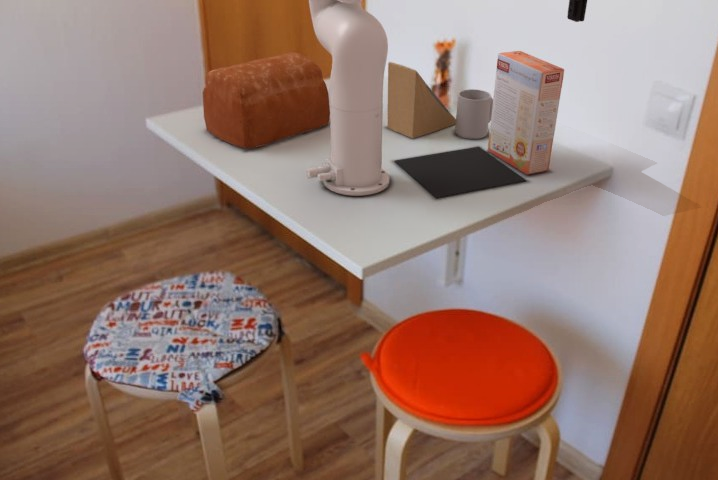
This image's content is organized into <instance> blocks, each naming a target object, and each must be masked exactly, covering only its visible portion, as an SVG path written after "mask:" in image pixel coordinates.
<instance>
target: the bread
mask: <svg viewBox="0 0 718 480" xmlns="http://www.w3.org/2000/svg"><path fill="white" fill-rule="evenodd" d="M204 80H205V81H204V82H205V86H204V87H203V90H202V103H203V104H202V105H203V106H202V108H203V119H204V125H205V129H206V131H207V132H208V133H210V134H211V135H213V136H215V137H216V138H218V139H220V140H222V141H224V142H226V143H229V144H230V145H234V146H237V147H239V148H244V149H254V148H258V147H261V146H264V145H268V144H271V143H274V142H277V141H280V140H283V139H286V138H290V137H293V136H296V135H300V134H303V133H306V132H310V131H313V130H316V129H319V128H321V127H324V126H327V125H328V124H330V96H329V90H328V87H327V83H326V81H325V80H324V78H323V71H322V69H321V67H320V66H319V65H318V64H316V63H315V62H314V61H313V60H312V59H310V58H308V57H307V56H305V55H303V54H302V53H298V52H293V51H289V52H285V53H282V54H279V55H275V56H269V57H263V58H258V59H253V60H249V61H247V62H243V63H238V64H234V65H229V66H228V67H218V68H215V69H212V70H209V71H208V72H207V73H206V75H205V77H204Z"/></svg>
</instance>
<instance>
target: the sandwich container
mask: <svg viewBox="0 0 718 480" xmlns="http://www.w3.org/2000/svg"><path fill="white" fill-rule="evenodd" d="M453 125H456V117H455V116H454V115H453V114H452V113H451V112H450V110H449V109H448V108H447V107H446V106H445V104H444V103H443V102H442V101H441V99H440V98H439V97H438V96H437V95H436V93H435V92H434V91H433V90H432V89H431V88H430V86H429V85H428V84H427V82H426V81H425V80H424V79H423V77H422V76H421V75H420V73H419V72H418V71H417V70H416V69H414V68H411V67H409V66H406V65H404V64H399V63H396V62H393V61H389V62H388V64H387V129H389V130H391V131H394V132H396V133H398V134H400V135H403V136H406V137H408V138H411V139H415V138H420V137H422V136H425V135H429V134H431V133H434V132H437V131H440V130H442V129H445V128H448V127H452V126H453Z"/></svg>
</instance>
